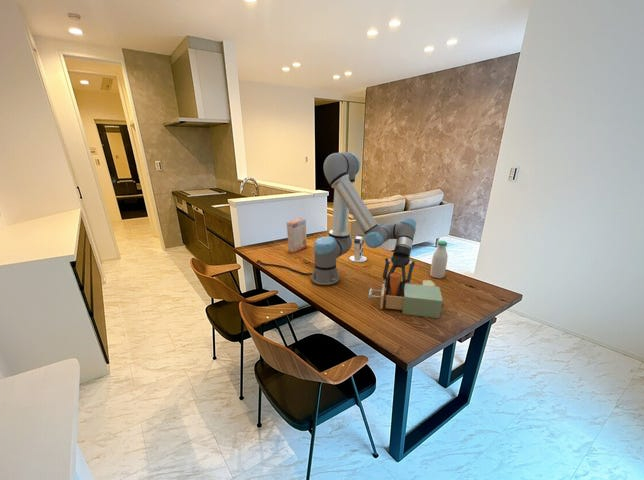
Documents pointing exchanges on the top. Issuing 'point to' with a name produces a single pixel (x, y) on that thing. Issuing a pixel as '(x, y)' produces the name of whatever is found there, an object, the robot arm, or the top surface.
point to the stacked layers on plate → (428, 283)
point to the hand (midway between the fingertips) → (392, 294)
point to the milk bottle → (439, 261)
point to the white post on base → (358, 249)
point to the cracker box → (296, 235)
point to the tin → (394, 284)
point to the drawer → (389, 299)
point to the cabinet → (422, 300)
